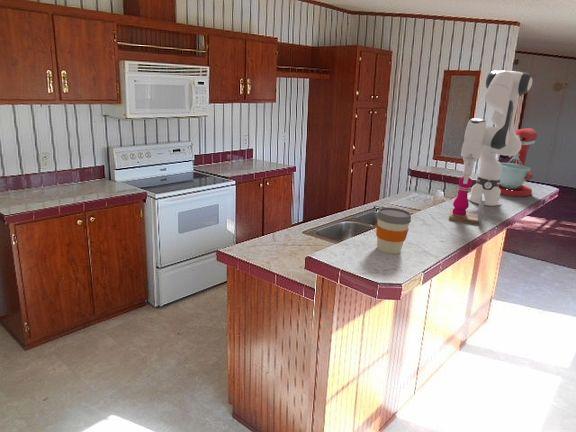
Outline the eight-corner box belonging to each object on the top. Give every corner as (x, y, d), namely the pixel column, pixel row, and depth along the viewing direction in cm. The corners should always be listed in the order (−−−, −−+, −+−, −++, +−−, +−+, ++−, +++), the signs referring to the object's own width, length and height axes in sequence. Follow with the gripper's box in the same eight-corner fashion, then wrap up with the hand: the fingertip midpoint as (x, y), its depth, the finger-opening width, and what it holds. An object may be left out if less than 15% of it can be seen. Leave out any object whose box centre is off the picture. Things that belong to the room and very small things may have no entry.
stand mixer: (483, 190, 294) (497, 126, 282) (498, 184, 317) (512, 125, 305) (523, 199, 279) (539, 132, 267) (536, 192, 303) (552, 130, 291)
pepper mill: (467, 216, 226) (476, 176, 220) (452, 214, 227) (460, 174, 221) (465, 212, 233) (473, 173, 226) (450, 210, 234) (458, 171, 228)
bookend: (450, 211, 239) (454, 189, 235) (478, 216, 234) (484, 193, 231) (448, 220, 224) (453, 196, 221) (479, 225, 220) (484, 201, 216)
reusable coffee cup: (412, 252, 178) (418, 215, 173) (388, 257, 171) (394, 218, 166) (389, 241, 188) (394, 206, 183) (365, 245, 181) (370, 208, 176)
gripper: (478, 157, 210) (472, 187, 214) (477, 151, 229) (471, 178, 233) (463, 155, 212) (457, 184, 216) (464, 149, 231) (458, 177, 235)
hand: (465, 181), depth 225 cm, fingers open, 8 cm apart
